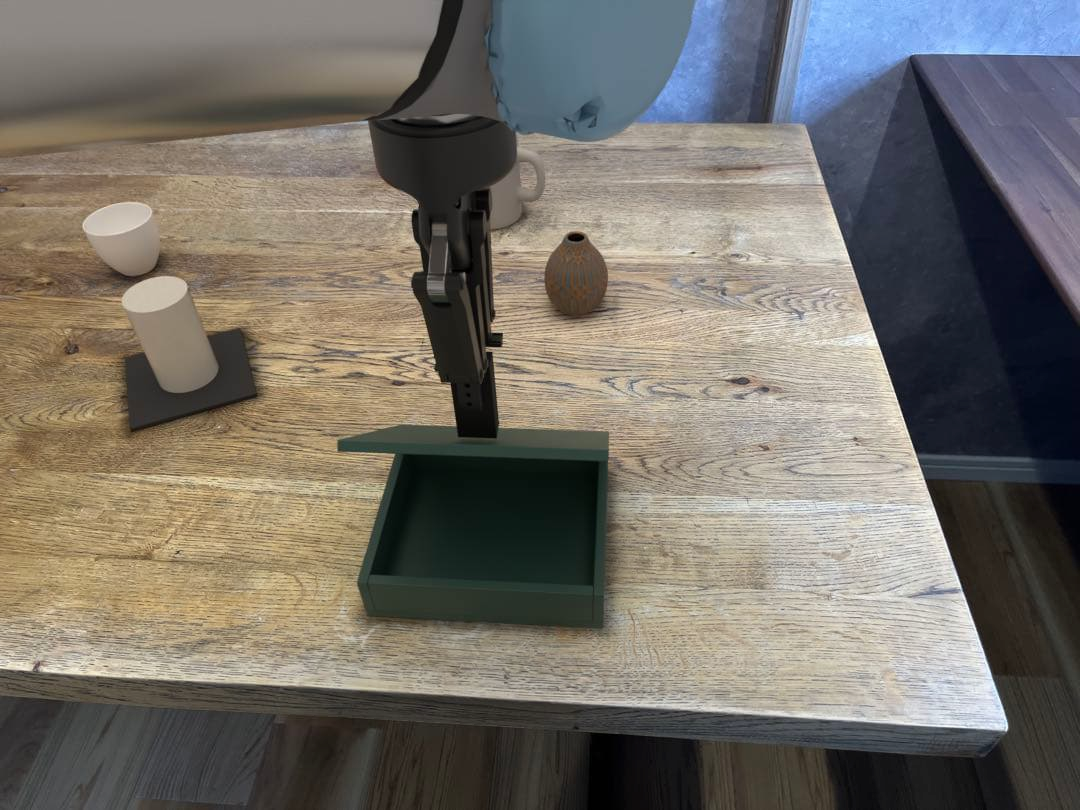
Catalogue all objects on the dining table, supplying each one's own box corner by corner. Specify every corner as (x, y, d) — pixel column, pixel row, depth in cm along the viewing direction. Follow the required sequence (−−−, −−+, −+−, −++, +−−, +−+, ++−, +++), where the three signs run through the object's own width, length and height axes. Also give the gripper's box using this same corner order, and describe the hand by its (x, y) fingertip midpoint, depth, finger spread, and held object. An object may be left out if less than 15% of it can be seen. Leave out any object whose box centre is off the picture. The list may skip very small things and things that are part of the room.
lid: (608, 461, 53) (608, 449, 53) (336, 451, 54) (337, 439, 54) (608, 440, 69) (609, 431, 69) (400, 433, 71) (400, 424, 71)
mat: (257, 396, 82) (256, 393, 81) (131, 431, 78) (129, 428, 78) (241, 330, 90) (240, 327, 90) (126, 360, 87) (124, 357, 86)
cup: (125, 292, 96) (103, 242, 92) (84, 264, 101) (60, 215, 97) (183, 263, 100) (164, 214, 96) (140, 238, 105) (120, 190, 101)
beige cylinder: (179, 401, 81) (142, 320, 74) (147, 377, 84) (108, 297, 77) (230, 370, 84) (200, 289, 77) (197, 348, 87) (165, 268, 80)
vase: (570, 331, 88) (569, 262, 82) (533, 302, 92) (529, 234, 86) (619, 308, 90) (622, 239, 85) (581, 281, 95) (581, 213, 89)
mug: (447, 226, 105) (437, 144, 98) (471, 194, 111) (463, 115, 103) (536, 238, 102) (532, 155, 95) (555, 205, 108) (553, 124, 101)
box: (603, 628, 61) (604, 595, 58) (366, 616, 62) (356, 582, 59) (607, 474, 72) (608, 439, 69) (408, 466, 74) (401, 432, 71)
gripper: (393, 49, 46) (441, 369, 62) (332, 152, 37) (407, 499, 53) (525, 48, 46) (539, 371, 61) (498, 153, 36) (523, 503, 52)
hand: (478, 430), depth 57 cm, fingers closed
